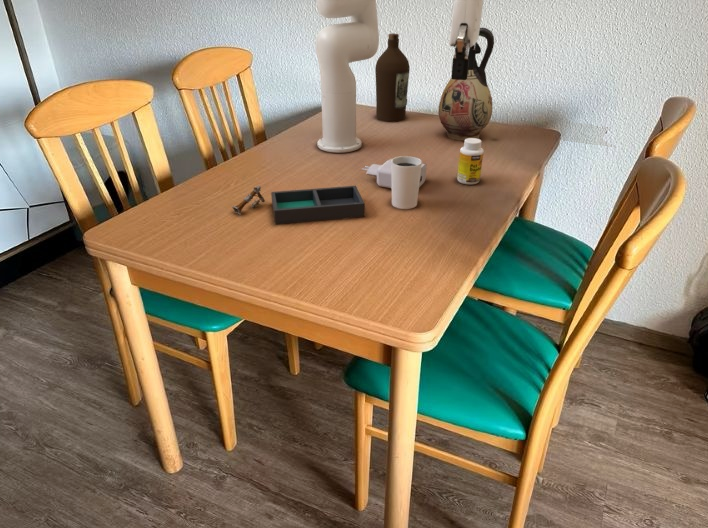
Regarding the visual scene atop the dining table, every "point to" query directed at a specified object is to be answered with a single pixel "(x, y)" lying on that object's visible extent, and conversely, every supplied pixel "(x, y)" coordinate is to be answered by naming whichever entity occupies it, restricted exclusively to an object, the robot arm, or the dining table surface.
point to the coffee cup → (405, 181)
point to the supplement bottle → (470, 161)
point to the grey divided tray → (317, 204)
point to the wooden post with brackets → (248, 199)
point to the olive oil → (392, 82)
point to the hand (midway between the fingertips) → (462, 74)
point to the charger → (389, 173)
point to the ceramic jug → (468, 98)
